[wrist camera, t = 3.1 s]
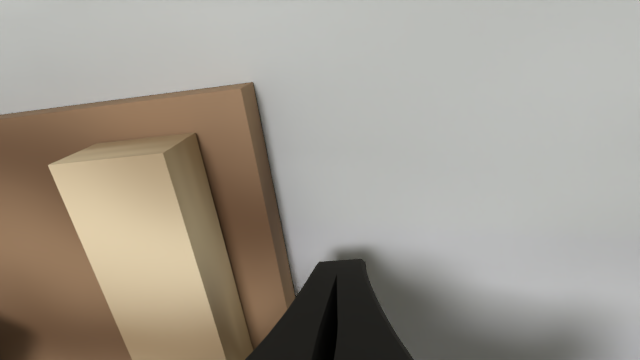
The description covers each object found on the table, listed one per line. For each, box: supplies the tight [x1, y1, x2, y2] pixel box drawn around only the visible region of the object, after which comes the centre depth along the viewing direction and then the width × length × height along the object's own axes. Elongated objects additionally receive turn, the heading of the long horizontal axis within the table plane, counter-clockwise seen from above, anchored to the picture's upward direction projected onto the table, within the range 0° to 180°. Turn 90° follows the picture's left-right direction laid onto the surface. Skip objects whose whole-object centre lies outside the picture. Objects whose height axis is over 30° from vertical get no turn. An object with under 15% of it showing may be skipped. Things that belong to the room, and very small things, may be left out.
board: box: [0, 82, 295, 360], centre depth 15 cm, size 18×16×1 cm
